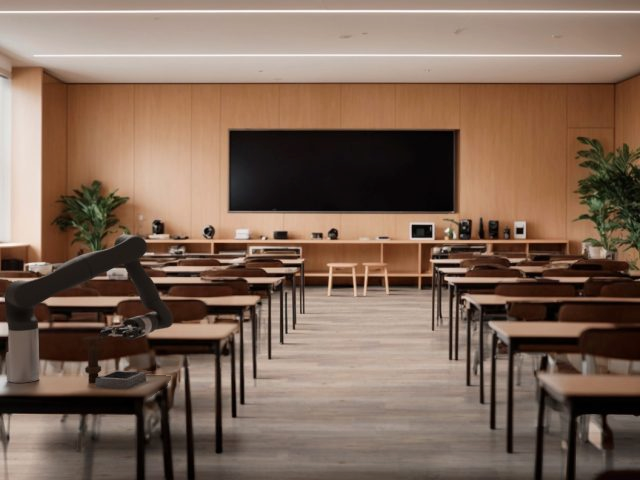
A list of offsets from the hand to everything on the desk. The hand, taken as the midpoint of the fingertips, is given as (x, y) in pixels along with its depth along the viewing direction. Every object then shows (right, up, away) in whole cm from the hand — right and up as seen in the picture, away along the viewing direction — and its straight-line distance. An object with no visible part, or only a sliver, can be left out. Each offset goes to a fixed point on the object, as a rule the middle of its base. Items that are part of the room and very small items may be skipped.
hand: (112, 334), depth 241 cm
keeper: (+7, -14, -13) cm, 20 cm away
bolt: (-3, -15, -10) cm, 18 cm away
